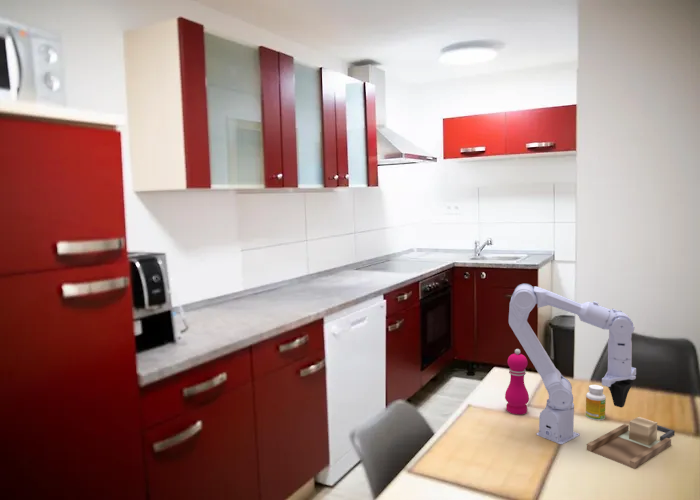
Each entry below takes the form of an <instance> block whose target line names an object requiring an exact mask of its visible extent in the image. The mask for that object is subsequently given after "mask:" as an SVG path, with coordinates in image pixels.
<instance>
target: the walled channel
mask: <svg viewBox="0 0 700 500" xmlns="http://www.w3.org/2000/svg"><path fill="white" fill-rule="evenodd" d="M629 426H630V424H626V423H624V424H622V425H620V426H618V427H616V428H614V429H613V430H611V431H609V432H607V433H605V434H603V435H601V436H599V437H598V438H596V439H593V440H591V441H590V442H588V443H587V444H586V451H588V452H591V453H592V454H595V455H598V456H601V457H604V458H605V459H609V460H611V461H614V462H616V463H619V464H622V465H623V466H625V467H626V466H627V467H629V468H631V469H634V470H635V469H637V468H638V467H640V466H641V465H643V464H644V463H646V462H647V461H649V460H650V459H652V458H653V457H655V456H657V455H658V454H660V453H662V451H664V450H666V449H667V448H669V447H670V446H672V438H665V439H664V440H662V441H660V440H658V439H657V440H656V441H654V442H653V443H651V444H649V445H645V444H643V443H640V442H637V441H634V440H631V439H629Z"/></svg>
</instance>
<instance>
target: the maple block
mask: <svg viewBox="0 0 700 500" xmlns="http://www.w3.org/2000/svg"><path fill="white" fill-rule="evenodd" d="M657 425H658V421H653V420H650V419H648V418H644V417H641V416H637V417H635V418H633V419H632V420H629V439H631V440H634V441H637V442H640V443H643V444H645V445H649V444H651V443H653V442H654V441H656V440H658V438H657V437H658V430H657Z"/></svg>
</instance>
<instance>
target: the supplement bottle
mask: <svg viewBox="0 0 700 500" xmlns="http://www.w3.org/2000/svg"><path fill="white" fill-rule="evenodd" d="M606 398H607V397H606V395H605V394H604V387H603V385H598V384H590V385H588V391H587V393H586V394H585V417H586V418H587V419H590V420H593V421H603V420H605V419H606V401H607V400H606Z"/></svg>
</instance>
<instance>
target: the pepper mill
mask: <svg viewBox="0 0 700 500" xmlns="http://www.w3.org/2000/svg"><path fill="white" fill-rule="evenodd" d="M528 363H529V362H528V359H527V357H526V356H525V355H524V354H522V353H521V349H519V348H516V349H514V353H512V354H510V355H509V356H508V358H507V365H508V367H509V368H508V370H509V371H508V374H509V375H510V382H509V383H508V384H509V385H508V386H507V387H506V391H505V394H504V399H505V401H506V402H507V403H506V407H505V408H506V412H508V413H510V414H512V415H525V414H527V413H528V405H527V404H529V402H530V396H529V395H530V394H529V393H528V392H529V391H528V389H527V388H526V384H525V375H526V374H527V373H526V371H527V370H526V368H527V366H528Z"/></svg>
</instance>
